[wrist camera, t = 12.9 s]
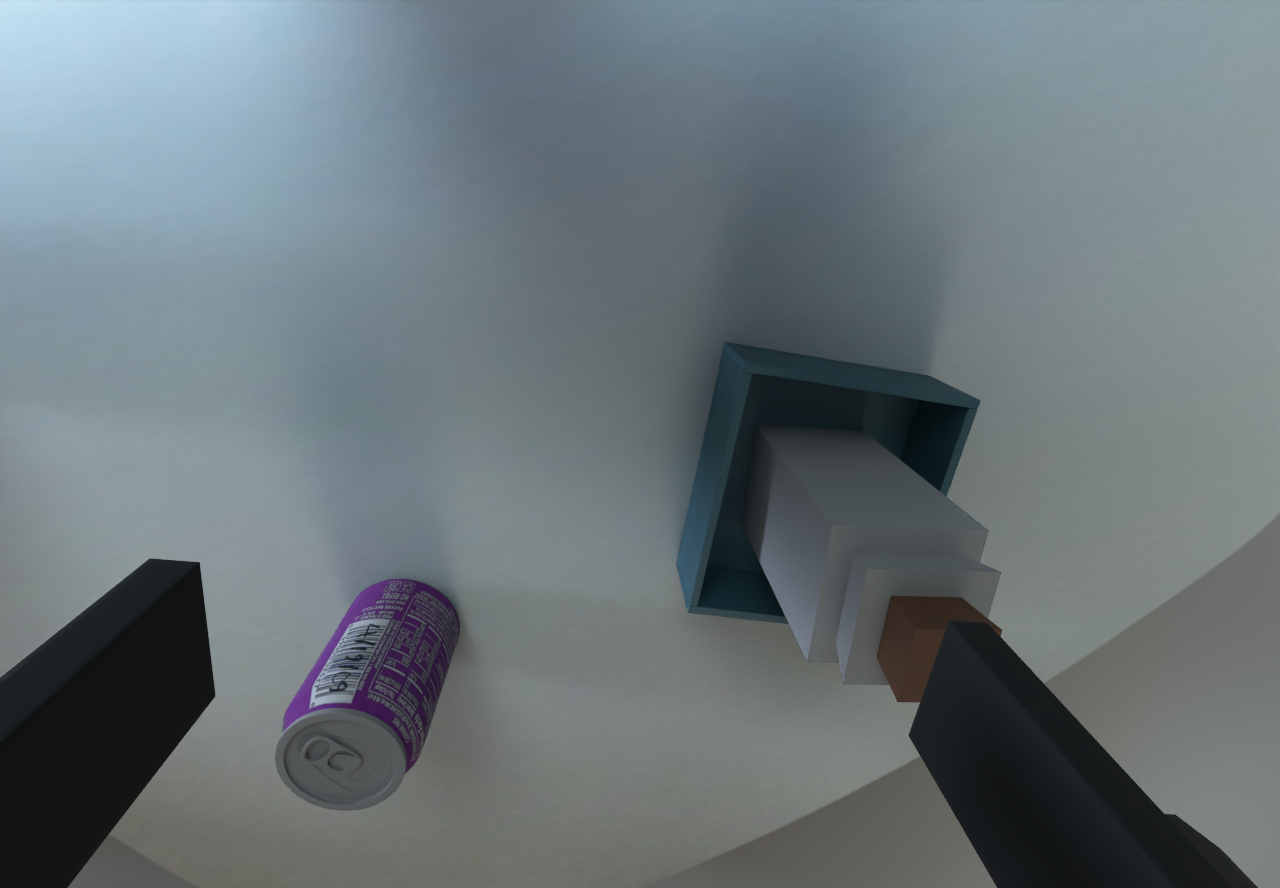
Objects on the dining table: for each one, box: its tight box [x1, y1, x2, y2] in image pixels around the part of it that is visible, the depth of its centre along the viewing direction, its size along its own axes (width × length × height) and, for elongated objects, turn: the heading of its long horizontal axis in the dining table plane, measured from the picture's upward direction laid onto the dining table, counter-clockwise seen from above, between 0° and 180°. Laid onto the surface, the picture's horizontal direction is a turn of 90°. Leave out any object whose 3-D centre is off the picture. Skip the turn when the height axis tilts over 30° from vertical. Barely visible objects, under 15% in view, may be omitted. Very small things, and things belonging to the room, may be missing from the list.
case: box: [676, 342, 980, 624], centre depth 38 cm, size 15×13×6 cm
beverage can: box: [275, 579, 460, 811], centre depth 37 cm, size 7×7×12 cm
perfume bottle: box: [742, 425, 1002, 702], centre depth 32 cm, size 7×7×18 cm
